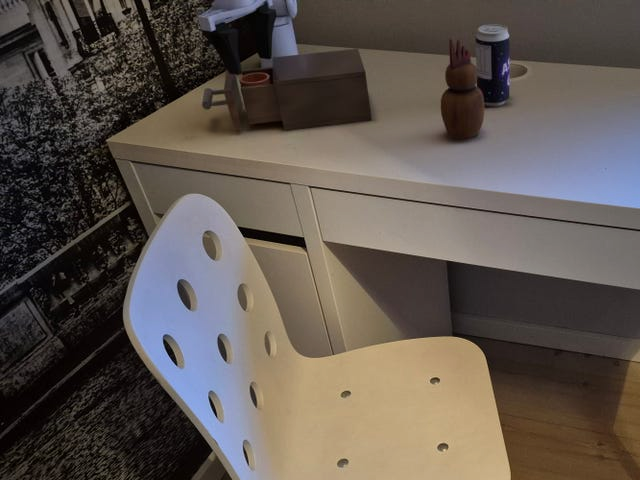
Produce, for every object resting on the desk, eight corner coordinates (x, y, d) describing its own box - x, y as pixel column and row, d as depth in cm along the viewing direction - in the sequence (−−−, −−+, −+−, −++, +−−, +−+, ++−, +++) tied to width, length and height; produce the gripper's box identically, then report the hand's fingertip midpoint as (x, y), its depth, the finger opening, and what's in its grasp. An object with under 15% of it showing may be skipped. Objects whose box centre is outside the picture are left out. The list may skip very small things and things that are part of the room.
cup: (278, 101, 115) (271, 71, 111) (274, 112, 111) (266, 82, 108) (250, 103, 115) (242, 73, 111) (245, 114, 111) (237, 83, 108)
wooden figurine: (450, 146, 105) (445, 45, 95) (437, 132, 109) (431, 34, 99) (490, 137, 107) (488, 38, 97) (475, 124, 111) (473, 27, 101)
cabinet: (284, 130, 111) (273, 81, 105) (282, 104, 119) (272, 57, 114) (372, 120, 113) (365, 71, 107) (364, 95, 121) (358, 48, 116)
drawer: (207, 132, 109) (195, 94, 104) (211, 108, 116) (200, 71, 112) (317, 120, 111) (310, 81, 107) (314, 97, 119) (307, 60, 115)
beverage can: (506, 108, 115) (506, 34, 107) (474, 107, 116) (472, 33, 108) (511, 96, 119) (512, 24, 111) (480, 94, 120) (479, 22, 112)
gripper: (238, -42, 105) (259, 48, 114) (171, -20, 96) (200, 77, 105) (274, -39, 103) (293, 53, 112) (209, -15, 93) (235, 83, 103)
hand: (250, 65), depth 108 cm, fingers open, 7 cm apart
